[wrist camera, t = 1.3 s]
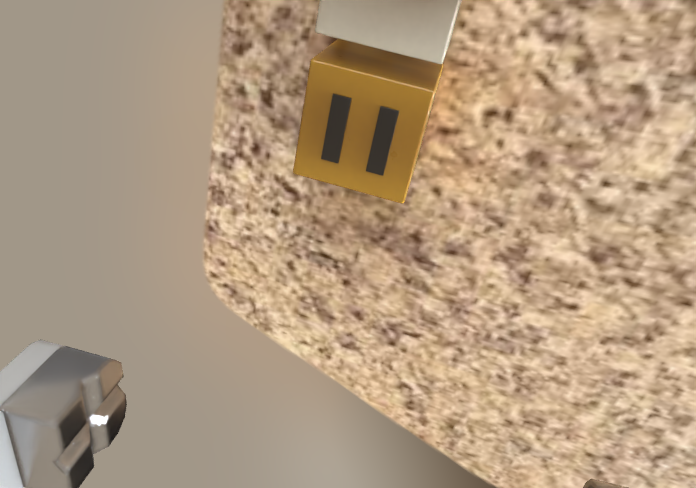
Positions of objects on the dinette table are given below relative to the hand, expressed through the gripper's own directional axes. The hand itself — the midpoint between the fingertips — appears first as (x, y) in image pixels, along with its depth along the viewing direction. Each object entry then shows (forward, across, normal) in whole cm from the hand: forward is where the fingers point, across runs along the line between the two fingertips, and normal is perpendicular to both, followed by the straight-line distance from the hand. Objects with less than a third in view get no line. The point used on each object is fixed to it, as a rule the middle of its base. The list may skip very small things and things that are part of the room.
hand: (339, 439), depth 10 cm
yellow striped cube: (+18, +2, 0) cm, 18 cm away
